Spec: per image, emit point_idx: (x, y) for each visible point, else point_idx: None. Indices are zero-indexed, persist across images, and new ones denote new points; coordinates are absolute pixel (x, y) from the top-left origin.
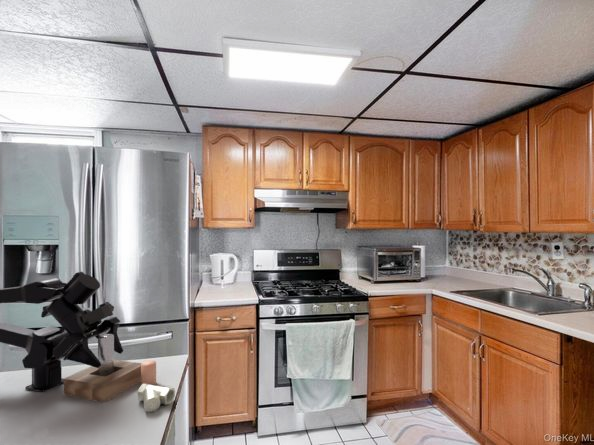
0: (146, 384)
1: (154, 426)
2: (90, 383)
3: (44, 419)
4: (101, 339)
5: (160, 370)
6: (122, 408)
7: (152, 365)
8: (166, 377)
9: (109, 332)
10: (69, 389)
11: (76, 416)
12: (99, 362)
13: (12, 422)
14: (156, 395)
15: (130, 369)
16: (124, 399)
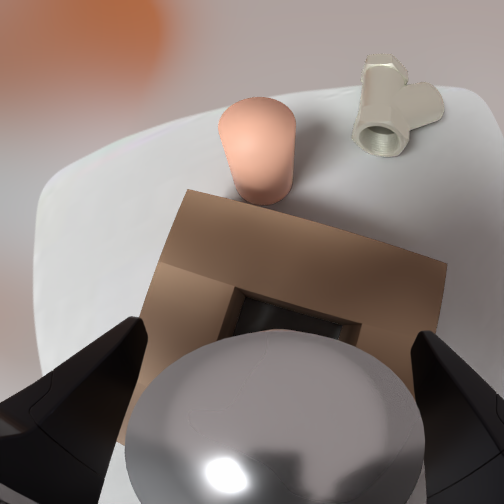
0: (392, 108)
1: (460, 99)
2: None
3: None
4: (415, 461)
5: (136, 195)
6: (433, 192)
7: (279, 102)
8: (205, 144)
9: (20, 478)
10: None
11: (483, 314)
12: (433, 341)
13: None
14: (418, 83)
15: (263, 229)
16: (386, 214)
